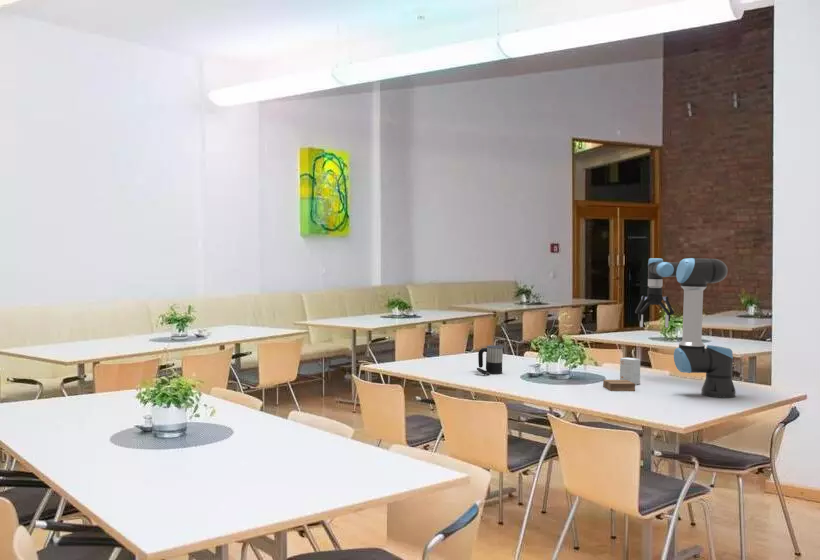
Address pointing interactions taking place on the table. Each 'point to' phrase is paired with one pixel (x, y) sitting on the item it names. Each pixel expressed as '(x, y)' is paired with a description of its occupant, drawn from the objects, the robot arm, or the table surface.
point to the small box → (630, 370)
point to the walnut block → (619, 385)
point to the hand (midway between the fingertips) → (653, 327)
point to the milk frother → (491, 360)
